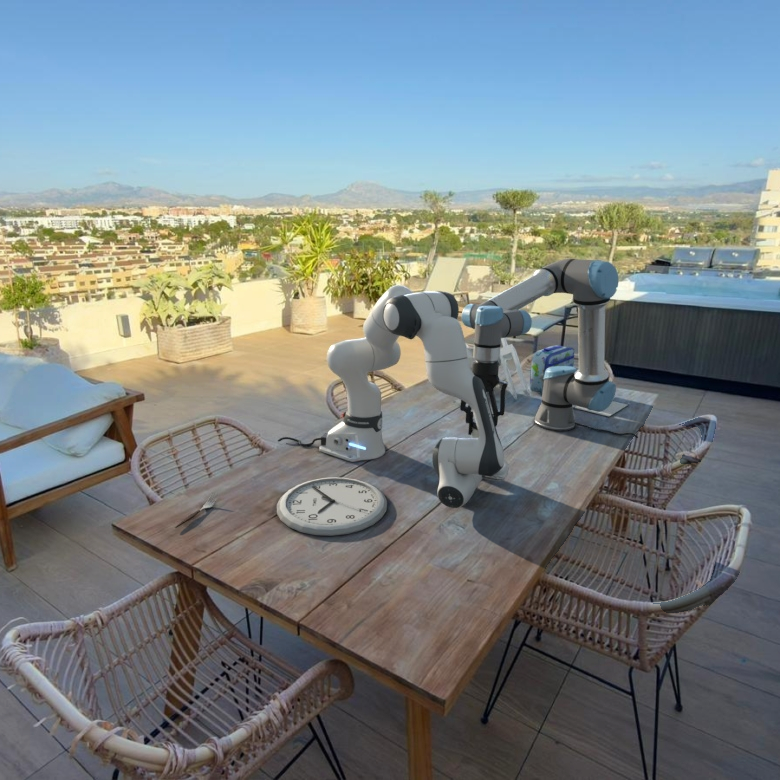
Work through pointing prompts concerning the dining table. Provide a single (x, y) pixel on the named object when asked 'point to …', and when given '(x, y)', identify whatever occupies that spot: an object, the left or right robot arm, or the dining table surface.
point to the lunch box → (548, 363)
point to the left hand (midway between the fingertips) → (479, 454)
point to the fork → (206, 505)
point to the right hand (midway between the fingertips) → (480, 434)
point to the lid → (474, 424)
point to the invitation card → (607, 409)
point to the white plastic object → (505, 365)
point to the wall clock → (331, 506)
